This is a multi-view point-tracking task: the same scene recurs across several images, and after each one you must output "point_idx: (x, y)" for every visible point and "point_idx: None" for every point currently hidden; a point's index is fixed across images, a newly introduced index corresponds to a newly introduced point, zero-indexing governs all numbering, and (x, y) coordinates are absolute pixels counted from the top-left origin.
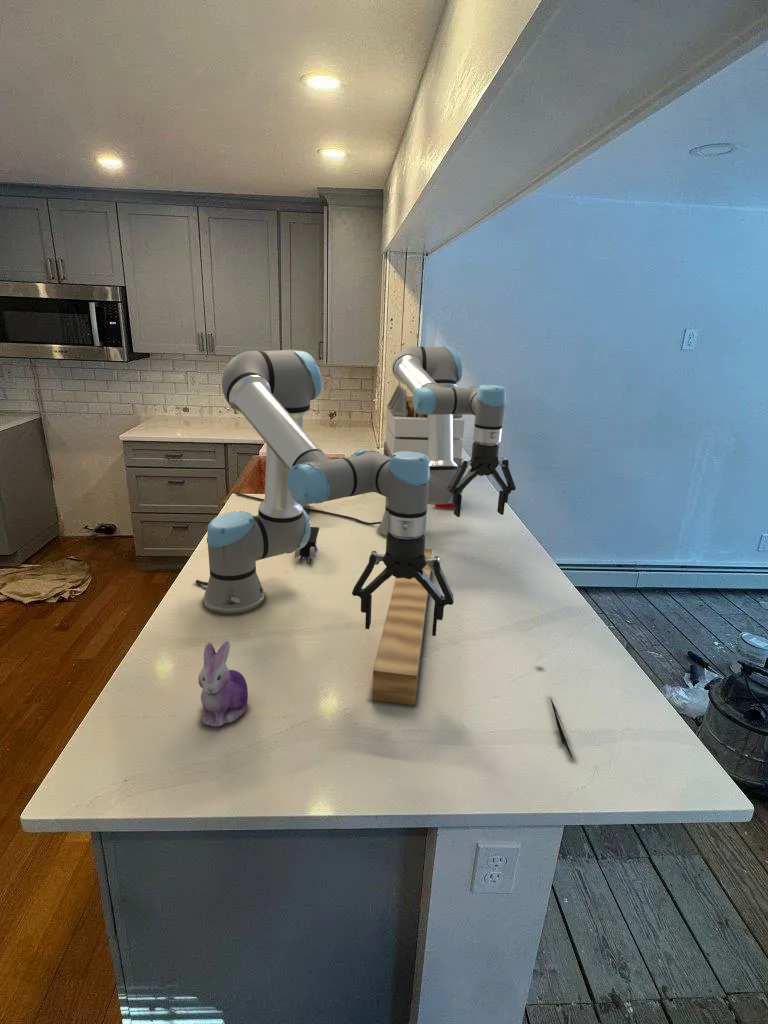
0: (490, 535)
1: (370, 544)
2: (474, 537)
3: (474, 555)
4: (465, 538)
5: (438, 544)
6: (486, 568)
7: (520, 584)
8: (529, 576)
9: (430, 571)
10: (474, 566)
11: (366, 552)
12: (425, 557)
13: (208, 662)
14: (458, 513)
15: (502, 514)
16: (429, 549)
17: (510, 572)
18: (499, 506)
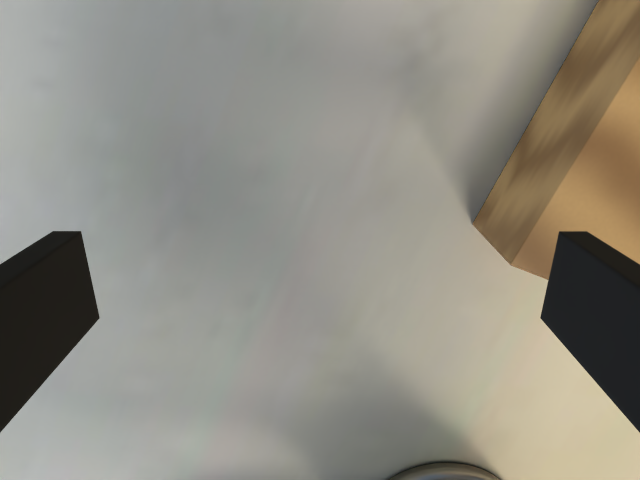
0: (114, 460)
1: (587, 450)
2: (182, 453)
3: (237, 320)
4: (220, 450)
5: (342, 420)
6: (231, 204)
7: (129, 23)
8: (60, 97)
9: (513, 174)
10: (275, 229)
11: None
12: (600, 173)
13: None
14: (602, 246)
15: (63, 231)
16: (527, 262)
17: (137, 150)
18: (52, 322)
